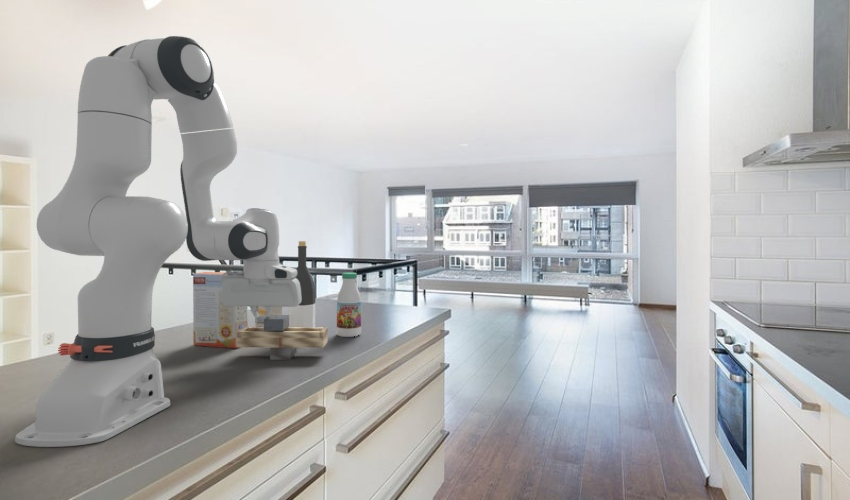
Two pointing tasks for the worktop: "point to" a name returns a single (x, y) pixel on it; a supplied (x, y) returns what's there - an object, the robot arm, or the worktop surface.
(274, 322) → the block
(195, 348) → the worktop surface
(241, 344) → the beam
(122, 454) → the worktop surface
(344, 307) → the milk bottle
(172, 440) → the worktop surface
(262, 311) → the supplement box
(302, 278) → the wine bottle
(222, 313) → the cracker box
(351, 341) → the worktop surface
